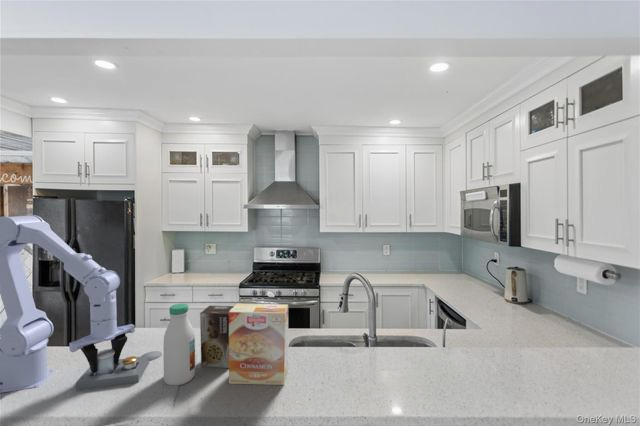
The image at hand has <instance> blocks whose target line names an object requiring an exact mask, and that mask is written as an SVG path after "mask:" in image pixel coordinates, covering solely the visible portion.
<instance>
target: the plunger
mask: <svg viewBox="0 0 640 426" xmlns="http://www.w3.org/2000/svg"><path fill="white" fill-rule="evenodd" d="M123 359H124V360H123V361H122V363H123V369H124V370H132V369H136V360H137V356H135V355H134V356H131V355H130V356H129V357H126V358H123Z"/></svg>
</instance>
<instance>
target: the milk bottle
mask: <svg viewBox="0 0 640 426" xmlns="http://www.w3.org/2000/svg"><path fill="white" fill-rule="evenodd" d="M188 314H189V304H188V303H176V304H175V303H174V304H173V305H171V306H169V316H170V319H169V323H168V325H167V328H166V330H165V333H164V335H163V382H164V383H165V384H167V385H168V386H182V385H185V384H187V383H189V382H190V381H192V379H194V377H195V375H196V344H195V343H196V341H195V340H196V339H195V331H194V328H193V326H192V323H191V322H190V319H189V317H188Z"/></svg>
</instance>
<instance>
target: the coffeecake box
mask: <svg viewBox="0 0 640 426" xmlns="http://www.w3.org/2000/svg"><path fill="white" fill-rule="evenodd" d="M233 306H234V307H233V308H232V309H231V310H230V311H229V368H228V384H229V385H267V386H268V385H269V386H275V385H276V386H285V383H286V379H287V375H288V372H289V371H288V370H289V304H285V303H284V304H277V303H236V304H234V305H233Z"/></svg>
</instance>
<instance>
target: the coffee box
mask: <svg viewBox="0 0 640 426" xmlns="http://www.w3.org/2000/svg"><path fill="white" fill-rule="evenodd" d="M234 306H235V305H209V306H208V305H207V307H205V309H203V310H202V311H201V312H200V313H199V323H200V324H199V326H200V367H202V368H203V367H205V368H206V367H207V368H223V369H225V368H227V369H229V311H230V310H231V309H232V308H233V307H234Z"/></svg>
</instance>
